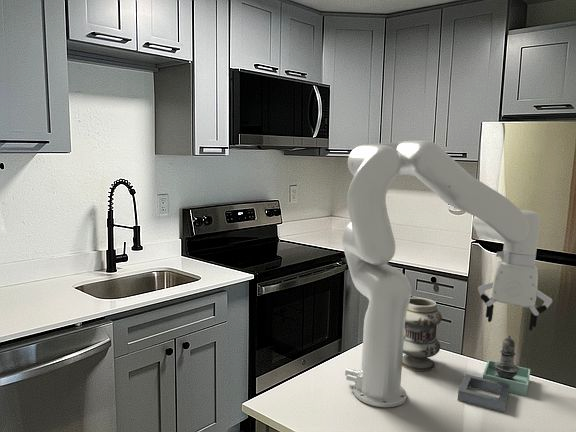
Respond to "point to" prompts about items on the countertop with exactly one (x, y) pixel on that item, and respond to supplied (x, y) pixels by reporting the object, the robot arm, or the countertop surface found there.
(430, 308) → the apothecary jar
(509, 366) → the salt shaker
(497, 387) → the grey square frame
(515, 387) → the tray
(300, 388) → the countertop surface
